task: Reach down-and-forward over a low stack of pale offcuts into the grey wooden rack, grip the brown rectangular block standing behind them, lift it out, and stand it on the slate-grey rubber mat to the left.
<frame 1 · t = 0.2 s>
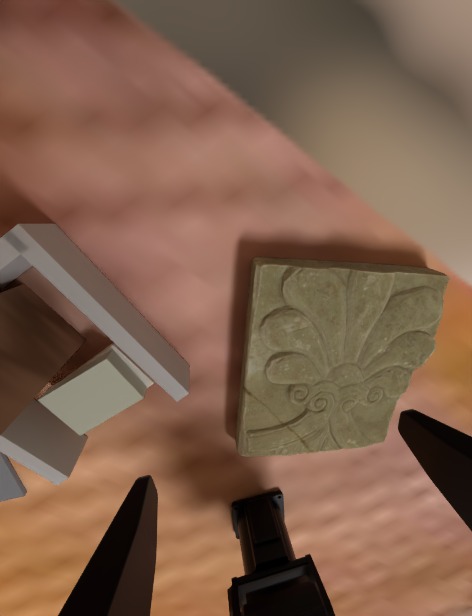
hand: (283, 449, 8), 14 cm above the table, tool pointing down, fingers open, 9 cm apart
offcut b: (99, 387, 21), point 1 cm above the table, touching offcut a
rack: (39, 326, 20), on the table
brown rectangular block: (40, 326, 20), on the table
offcut a: (108, 377, 23), on the table, touching offcut b
decorative tile: (325, 355, 26), on the table
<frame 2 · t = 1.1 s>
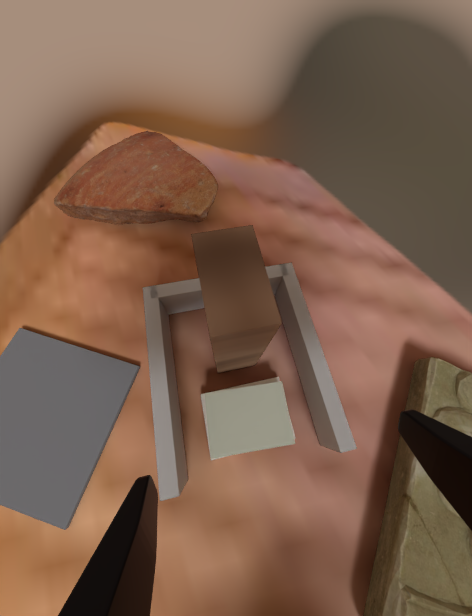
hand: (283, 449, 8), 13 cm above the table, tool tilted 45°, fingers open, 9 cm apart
offcut b: (246, 417, 21), point 1 cm above the table, touching offcut a
rack: (230, 338, 24), on the table
brown rectangular block: (230, 338, 24), on the table
offcut a: (245, 415, 22), on the table, touching offcut b
ceramic shard: (151, 206, 30), on the table
mat: (42, 415, 21), on the table
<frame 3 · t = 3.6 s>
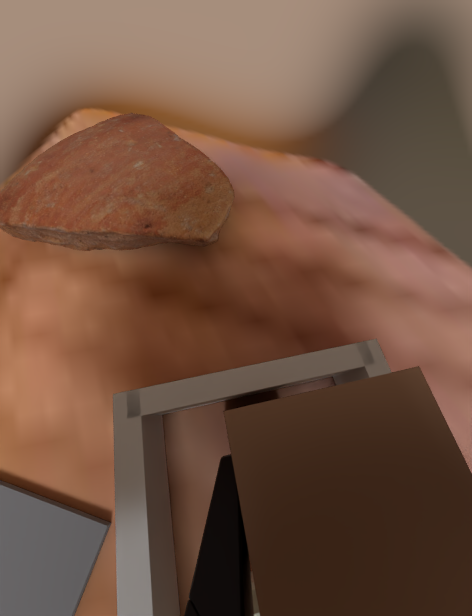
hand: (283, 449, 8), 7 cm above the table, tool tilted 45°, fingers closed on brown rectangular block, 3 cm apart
rack: (265, 459, 14), on the table
brown rectangular block: (265, 459, 14), on the table, touching gripper
ceramic shard: (136, 221, 21), on the table
when the fingers open (7 cm above the table, at t = 8.5 s): brown rectangular block stays where it is, resting on mat.
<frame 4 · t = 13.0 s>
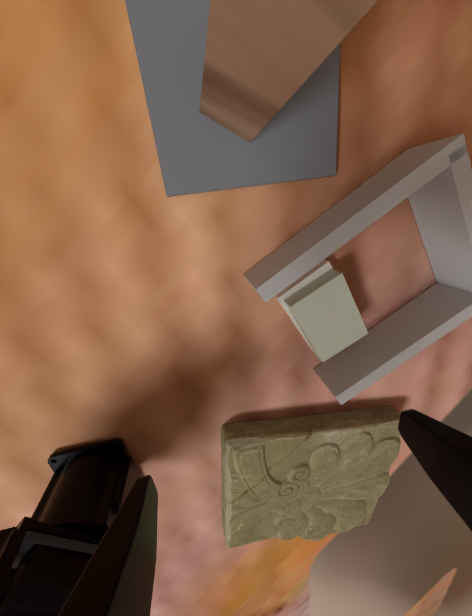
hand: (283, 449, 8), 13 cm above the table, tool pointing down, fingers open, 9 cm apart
offcut b: (322, 313, 21), point 1 cm above the table, touching offcut a
rack: (384, 259, 21), on the table
brown rectangular block: (245, 74, 15), resting on mat
offcut a: (313, 305, 22), on the table, touching offcut b
decorative tile: (299, 466, 31), on the table
mat: (244, 76, 15), on the table
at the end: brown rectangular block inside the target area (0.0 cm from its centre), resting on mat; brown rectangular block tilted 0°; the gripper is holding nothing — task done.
